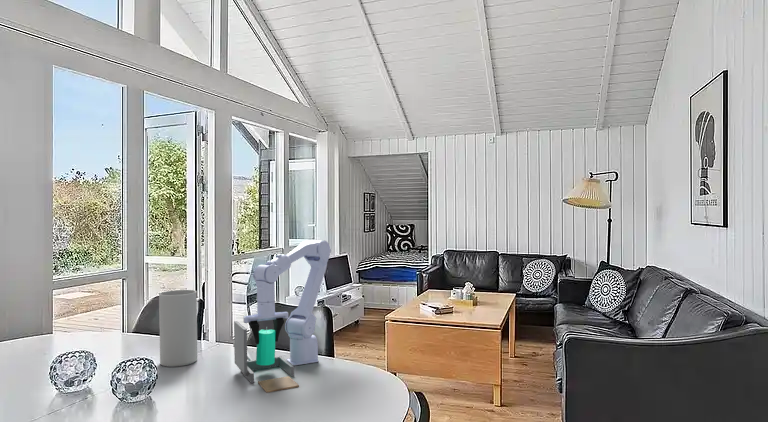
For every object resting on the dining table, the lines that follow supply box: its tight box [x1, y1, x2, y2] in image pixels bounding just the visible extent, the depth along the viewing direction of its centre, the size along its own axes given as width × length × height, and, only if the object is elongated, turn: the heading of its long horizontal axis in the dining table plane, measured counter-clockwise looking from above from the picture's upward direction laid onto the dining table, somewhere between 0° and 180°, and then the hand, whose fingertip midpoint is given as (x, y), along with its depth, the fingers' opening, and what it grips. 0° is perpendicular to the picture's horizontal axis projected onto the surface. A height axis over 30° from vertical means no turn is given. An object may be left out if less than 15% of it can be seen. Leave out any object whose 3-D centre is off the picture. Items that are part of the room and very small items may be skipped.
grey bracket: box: [232, 320, 295, 384], centre depth 171 cm, size 16×15×17 cm
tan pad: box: [257, 375, 300, 394], centre depth 160 cm, size 10×10×1 cm
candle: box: [255, 326, 276, 366], centre depth 171 cm, size 6×6×12 cm
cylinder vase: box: [158, 289, 198, 368], centre depth 186 cm, size 12×12×25 cm
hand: (266, 342), depth 171 cm, fingers closed on candle, 6 cm apart
